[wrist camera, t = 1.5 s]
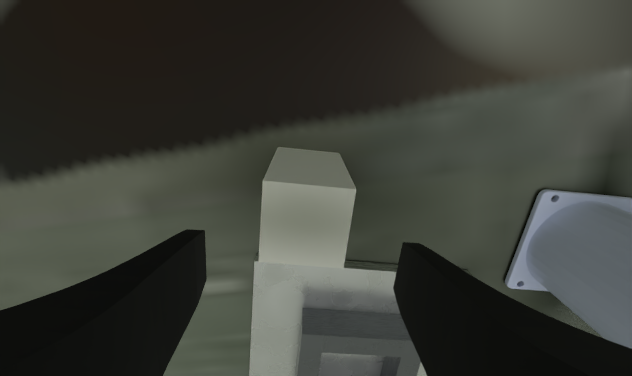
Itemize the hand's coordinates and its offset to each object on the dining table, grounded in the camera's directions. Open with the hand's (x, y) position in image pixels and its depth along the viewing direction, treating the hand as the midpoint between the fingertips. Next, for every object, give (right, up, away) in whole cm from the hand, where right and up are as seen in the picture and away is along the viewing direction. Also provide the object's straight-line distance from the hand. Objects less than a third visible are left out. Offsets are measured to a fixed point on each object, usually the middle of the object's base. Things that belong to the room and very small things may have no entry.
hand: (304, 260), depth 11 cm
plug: (0, +3, +9) cm, 10 cm away
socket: (+3, -10, +14) cm, 18 cm away
